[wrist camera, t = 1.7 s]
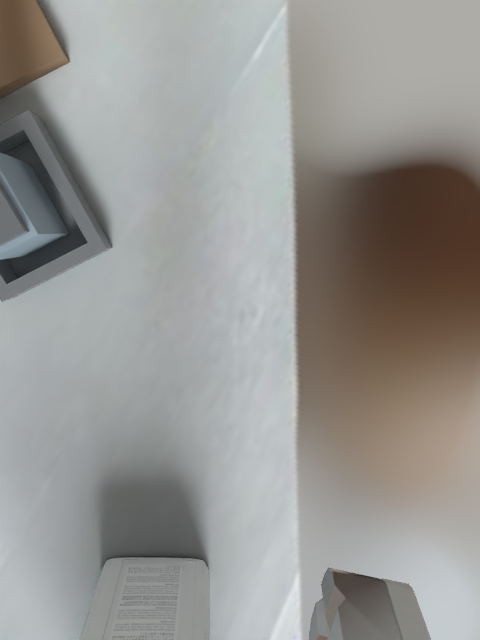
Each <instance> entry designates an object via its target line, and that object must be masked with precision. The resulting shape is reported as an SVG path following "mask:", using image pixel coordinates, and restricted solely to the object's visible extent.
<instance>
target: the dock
mask: <svg viewBox="0 0 480 640" xmlns="http://www.w3.org/2000/svg"><path fill="white" fill-rule="evenodd" d="M69 62H70V61H69V59H68V58H67V56H66V54H65V52H64V50H63V48H62V46H61V44H60V42H59V40H58V39H57V37H56V35H55V33H54V31H53V29H52V27H51V25H50V23H49V21H48V20H47V18H46V16H45V14H44V12H43V10H42V8H41V6H40V4H39V2H38V1H37V0H0V98H1V97H3V96H5V95H7V94H9V93H11V92H13V91H15V90H17V89H19V88H21V87H23V86H24V85H26V84H28V83H30V82H32V81H34V80H36V79H38V78H40V77H42V76H44V75H46V74H48V73H49V72H51V71H53V70H55V69H57V68H59V67H61V66H63V65H65V64H67V63H69Z"/></svg>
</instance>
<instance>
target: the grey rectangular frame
mask: <svg viewBox="0 0 480 640" xmlns="http://www.w3.org/2000/svg"><path fill="white" fill-rule="evenodd" d="M28 140H30V142H31V143H32V145H33V147H34V149H35V150H36V152H37V154H38V156H39V157H40V159H41V161H42V163H43V165H44V166H45V168H46V170H47V172H48V173H49V175H50V177H51V179H52V180H53V182H54V184H55V186H56V188H57V189H58V191H59V193H60V195H61V196H62V198H63V200H64V202H65V204H66V205H67V207H68V209H69V211H70V212H71V214H72V216H73V218H74V219H75V221H76V223H77V225H78V227H79V228H80V230H81V232H82V234H83V235H84V237H85V239H86V241H87V242H88V243H86V244H84V245H82V246H80V247H78V248H77V249H75V250H73V251H71V252H69V253H67V254H65V255H63V256H61V257H59V258H57V259H55V260H53V261H51V262H49V263H47V264H45V265H43V266H41V267H39V268H37V269H35V270H33V271H32V272H30V273H28V274H26V275H24V276H22V277H20V278H17V276H16V275H15V273H14V271H13V270H12V268H11V267H10V265H9V263H8V262H7V260H6V259H1V260H0V299H1V301H2V302H3V301H6V300H8V299H11V298H14V297H16V296H18V295H20V294H22V293H24V292H26V291H28V290H30V289H32V288H34V287H36V286H38V285H40V284H42V283H44V282H46V281H48V280H50V279H52V278H53V277H55V276H57V275H59V274H61V273H63V272H65V271H67V270H69V269H71V268H73V267H75V266H77V265H79V264H81V263H83V262H85V261H87V260H89V259H91V258H93V257H95V256H97V255H99V254H101V253H102V252H104V251H106V250H108V249H110V248H112V246H111V244H110V242H109V241H108V239H107V237H106V235H105V233H104V232H103V230H102V228H101V226H100V224H99V223H98V221H97V219H96V217H95V215H94V214H93V212H92V210H91V208H90V206H89V204H88V203H87V201H86V199H85V197H84V195H83V194H82V192H81V190H80V188H79V186H78V185H77V183H76V181H75V179H74V177H73V176H72V174H71V172H70V170H69V168H68V167H67V165H66V163H65V161H64V159H63V158H62V156H61V154H60V152H59V150H58V149H57V147H56V145H55V143H54V141H53V139H52V138H51V136H50V134H49V132H48V130H47V129H46V127H45V125H44V123H43V121H42V120H41V118H40V117H38V116H37V115H35V114H34V113H33V112H31V111H30V110H27V111H25V112H23V113H21V114H19V115H17V116H15V117H14V118H12V119H10V120H8V121H6V122H4V123H2V124H0V153H5V152H7V151H9V150H11V149H13V148H15V147H16V146H18V145H20V144H22V143H24V142H26V141H28Z"/></svg>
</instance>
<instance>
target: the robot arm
mask: <svg viewBox="0 0 480 640" xmlns="http://www.w3.org/2000/svg"><path fill="white" fill-rule="evenodd" d="M321 586H322V594H323V598H322V599H321V600H320V601H318V602H317V603H316V604H315V607H314V611H313V614H312V618H311V625H310V633H309V640H431V638H430V635H429V632H428V629H427V627H426V624H425V621H424V618H423V616H422V613H421V610H420V608H419V605H418V602H417V599H416V596H415V594H414V591H413V589H412V587H411V586H410V585H409V584H406V583H401V582H397V581H392V580H387V579H379V578H374V577H370V576H365V575H360V574H356V573H351V572H346V571H342V570H337V569H332V568H328V569H327V571H326V572H325V575H324V578H323V581H322V584H321Z"/></svg>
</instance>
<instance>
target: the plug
mask: <svg viewBox="0 0 480 640" xmlns="http://www.w3.org/2000/svg"><path fill="white" fill-rule="evenodd" d="M68 234H69V232H68V230H67V228H66V226H65V225H64V223H63V221H62V219H61V218H60V216H59V214H58V212H57V211H56V209H55V207H54V205H53V204H52V202H51V200H50V198H49V197H48V195H47V193H46V191H45V190H44V188H43V186H42V184H41V183H40V181H39V179H38V177H37V176H36V174H35V172H34V170H33V169H32V167H31V165H30V164H29V163H27V162H24V161H21V160H19V159H16V158H13V157H11V156H8V155H6V154H3V153H0V260H1V259H8V258H15V257H22V256H27V255H28V254H30V253H32V252H34V251H36V250H38V249H40V248H42V247H44V246H46V245H48V244H50V243H52V242H54V241H56V240H58V239H60V238H62V237H64V236H66V235H68Z"/></svg>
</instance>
